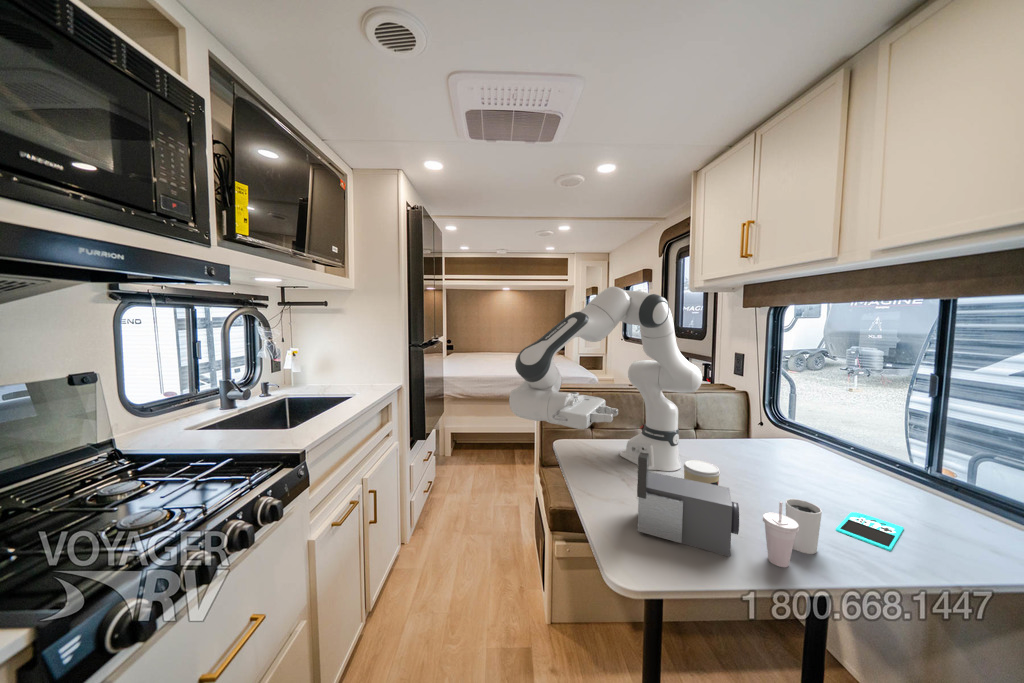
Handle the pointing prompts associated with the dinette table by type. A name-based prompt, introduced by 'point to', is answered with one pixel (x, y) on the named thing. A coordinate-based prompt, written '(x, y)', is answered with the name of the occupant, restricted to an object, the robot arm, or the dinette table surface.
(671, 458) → the robot arm
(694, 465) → the coffee cup
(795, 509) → the white cylindrical cup
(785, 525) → the smoothie
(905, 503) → the dinette table surface
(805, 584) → the dinette table surface
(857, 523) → the handheld game console
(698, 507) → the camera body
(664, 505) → the side door
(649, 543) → the dinette table surface
